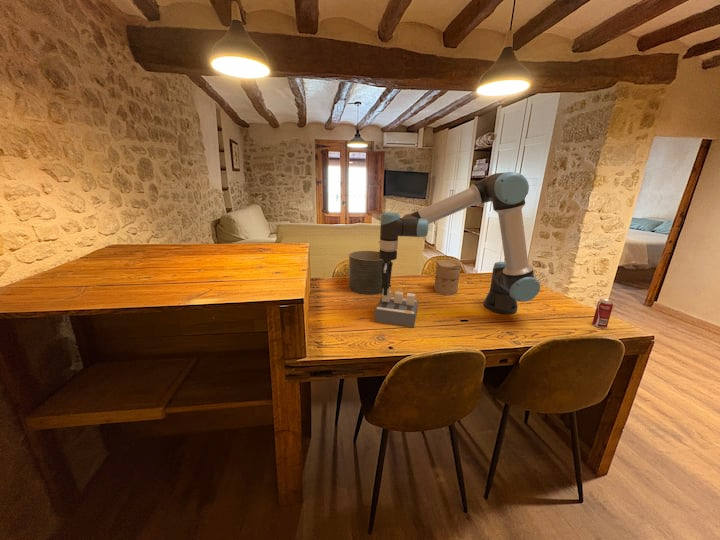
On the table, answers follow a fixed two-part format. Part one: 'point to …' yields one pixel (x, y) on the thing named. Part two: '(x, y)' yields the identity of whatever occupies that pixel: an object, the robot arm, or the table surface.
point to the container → (447, 277)
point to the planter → (365, 272)
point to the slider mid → (398, 297)
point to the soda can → (602, 313)
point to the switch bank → (396, 313)
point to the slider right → (410, 299)
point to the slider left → (389, 295)
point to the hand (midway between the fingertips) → (385, 301)
